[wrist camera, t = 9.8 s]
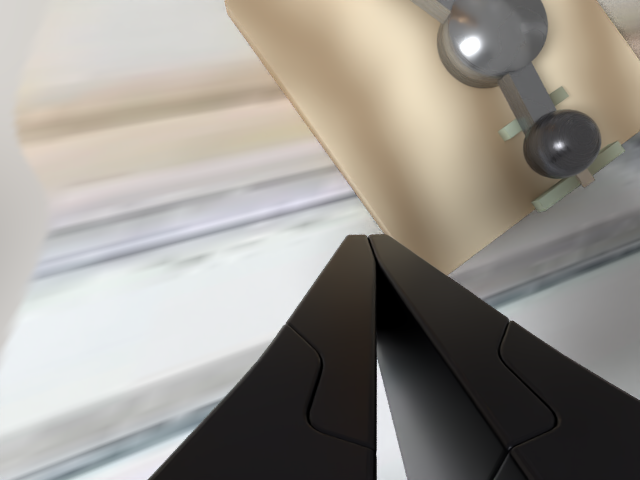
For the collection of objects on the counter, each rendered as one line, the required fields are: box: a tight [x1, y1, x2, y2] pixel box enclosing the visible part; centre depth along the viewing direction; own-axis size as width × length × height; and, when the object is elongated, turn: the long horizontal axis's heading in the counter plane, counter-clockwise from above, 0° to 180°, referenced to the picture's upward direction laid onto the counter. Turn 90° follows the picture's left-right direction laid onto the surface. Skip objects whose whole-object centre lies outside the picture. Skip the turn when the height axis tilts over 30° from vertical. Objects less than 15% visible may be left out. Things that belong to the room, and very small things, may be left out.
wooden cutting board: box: [224, 0, 640, 275], centre depth 20 cm, size 16×17×2 cm
